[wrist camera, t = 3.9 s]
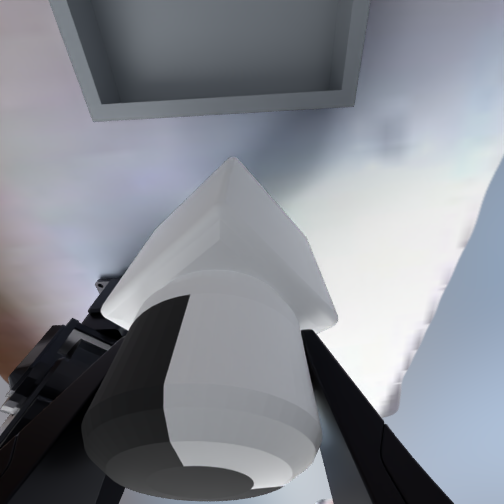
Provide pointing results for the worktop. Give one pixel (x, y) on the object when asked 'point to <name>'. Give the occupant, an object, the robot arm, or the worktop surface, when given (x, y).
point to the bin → (212, 55)
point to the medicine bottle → (213, 351)
